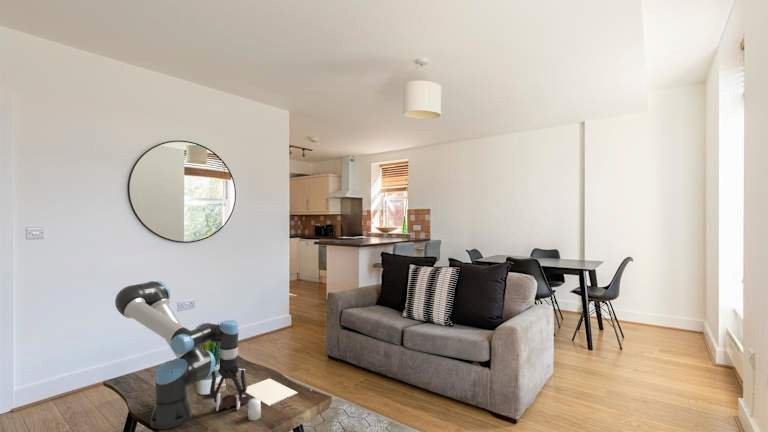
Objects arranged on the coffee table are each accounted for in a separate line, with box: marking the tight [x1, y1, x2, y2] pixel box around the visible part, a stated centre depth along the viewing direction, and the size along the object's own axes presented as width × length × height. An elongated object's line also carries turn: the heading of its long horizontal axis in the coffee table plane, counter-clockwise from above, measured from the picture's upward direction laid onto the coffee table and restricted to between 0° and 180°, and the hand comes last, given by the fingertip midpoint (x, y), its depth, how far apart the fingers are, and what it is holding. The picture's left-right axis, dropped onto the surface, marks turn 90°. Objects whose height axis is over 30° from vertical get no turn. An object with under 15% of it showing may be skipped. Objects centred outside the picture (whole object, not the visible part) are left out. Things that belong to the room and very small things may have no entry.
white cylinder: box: [247, 397, 262, 422], centre depth 160 cm, size 5×5×7 cm
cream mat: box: [242, 378, 298, 407], centre depth 183 cm, size 24×16×1 cm, turn 50°
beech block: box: [214, 380, 227, 398], centre depth 181 cm, size 5×5×5 cm
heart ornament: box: [219, 392, 251, 410], centre depth 170 cm, size 6×12×11 cm
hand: (228, 408), depth 166 cm, fingers open, 8 cm apart
